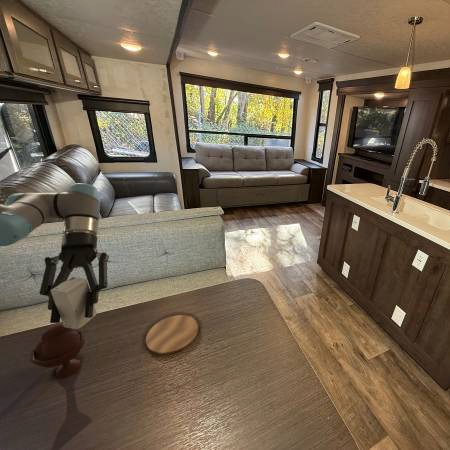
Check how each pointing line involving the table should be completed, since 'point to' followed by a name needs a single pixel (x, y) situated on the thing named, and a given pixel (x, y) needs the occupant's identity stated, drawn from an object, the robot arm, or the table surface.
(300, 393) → the table surface
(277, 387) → the table surface
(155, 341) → the wooden trivet
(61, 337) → the ice cream bowl
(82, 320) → the cosmetic box
